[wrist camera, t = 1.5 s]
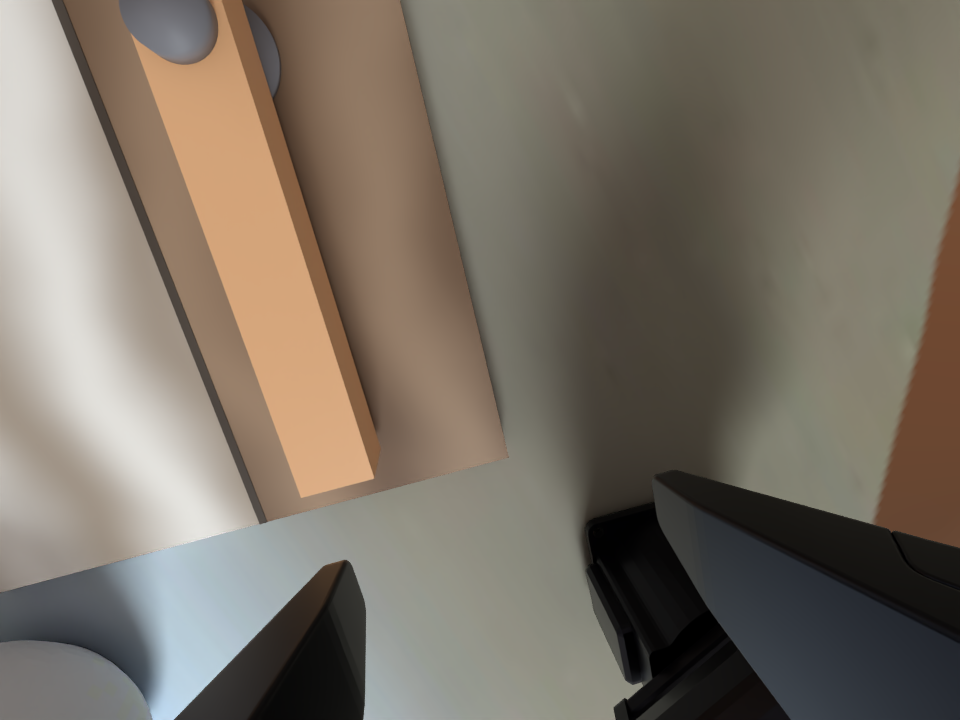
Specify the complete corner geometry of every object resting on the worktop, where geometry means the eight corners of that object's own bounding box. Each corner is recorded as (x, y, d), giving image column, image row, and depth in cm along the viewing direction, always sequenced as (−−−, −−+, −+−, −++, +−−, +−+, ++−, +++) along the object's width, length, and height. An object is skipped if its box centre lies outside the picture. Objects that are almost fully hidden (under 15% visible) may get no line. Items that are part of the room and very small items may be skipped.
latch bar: (157, 11, 15) (85, -51, 12) (239, -7, 15) (190, -73, 12) (316, 465, 19) (294, 510, 16) (380, 448, 19) (371, 490, 16)
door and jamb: (349, -201, 16) (320, -368, 11) (503, 442, 22) (523, 493, 17) (-373, -60, 15) (-706, -186, 10) (-7, 577, 21) (-123, 667, 16)
